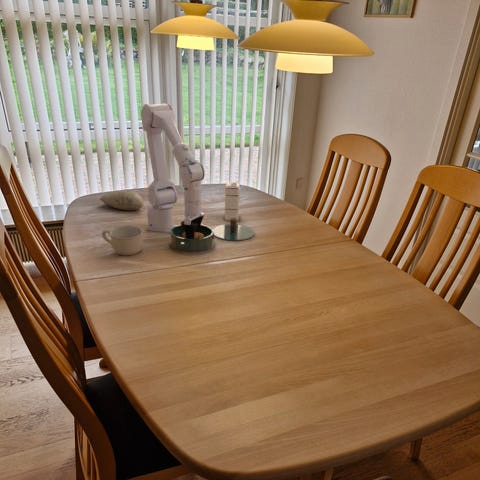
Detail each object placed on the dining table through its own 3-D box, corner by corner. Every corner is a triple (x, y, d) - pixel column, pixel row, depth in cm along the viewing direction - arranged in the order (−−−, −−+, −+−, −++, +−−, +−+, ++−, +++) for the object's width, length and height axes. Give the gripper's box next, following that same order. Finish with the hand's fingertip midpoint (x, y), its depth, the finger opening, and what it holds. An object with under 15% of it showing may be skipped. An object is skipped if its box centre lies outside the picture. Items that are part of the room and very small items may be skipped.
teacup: (149, 249, 155) (148, 227, 150) (133, 261, 146) (131, 238, 142) (115, 242, 158) (112, 221, 154) (97, 254, 149) (94, 231, 145)
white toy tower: (238, 221, 182) (240, 186, 175) (224, 220, 182) (225, 185, 175) (238, 216, 187) (240, 182, 180) (224, 216, 187) (225, 181, 179)
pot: (163, 254, 152) (162, 239, 149) (180, 233, 169) (180, 219, 166) (205, 259, 150) (205, 244, 147) (219, 237, 167) (219, 223, 164)
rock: (132, 214, 181) (98, 207, 190) (151, 209, 190) (117, 202, 199) (131, 196, 178) (96, 189, 187) (150, 191, 186) (116, 185, 195)
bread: (180, 244, 158) (179, 233, 156) (183, 239, 162) (183, 228, 160) (202, 247, 157) (202, 235, 155) (205, 242, 161) (206, 231, 159)
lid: (207, 239, 165) (207, 224, 161) (217, 225, 178) (217, 210, 175) (250, 244, 162) (251, 229, 159) (256, 229, 176) (257, 214, 173)
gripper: (198, 207, 145) (198, 246, 152) (209, 195, 157) (208, 231, 164) (177, 205, 146) (179, 243, 153) (189, 193, 158) (190, 229, 165)
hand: (193, 237), depth 159 cm, fingers open, 7 cm apart
